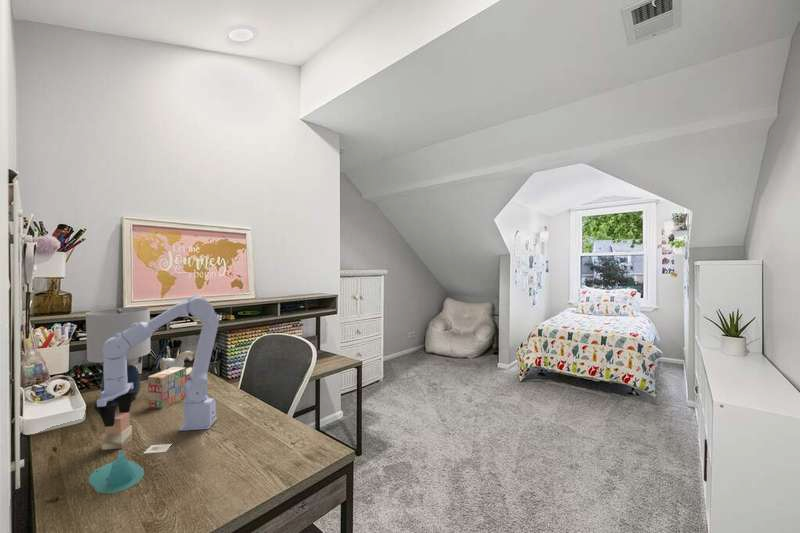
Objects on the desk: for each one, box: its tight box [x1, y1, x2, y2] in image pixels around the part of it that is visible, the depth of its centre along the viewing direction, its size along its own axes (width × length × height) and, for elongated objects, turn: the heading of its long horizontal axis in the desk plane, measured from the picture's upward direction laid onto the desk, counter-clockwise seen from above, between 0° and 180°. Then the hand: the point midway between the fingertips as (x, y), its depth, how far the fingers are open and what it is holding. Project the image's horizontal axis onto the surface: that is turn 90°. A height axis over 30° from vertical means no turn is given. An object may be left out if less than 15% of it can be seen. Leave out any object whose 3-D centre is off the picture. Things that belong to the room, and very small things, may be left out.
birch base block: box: [101, 425, 133, 450], centre depth 114 cm, size 6×6×4 cm
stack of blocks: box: [147, 366, 192, 409], centre depth 152 cm, size 21×6×12 cm, turn 169°
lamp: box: [85, 306, 152, 403], centre depth 149 cm, size 20×20×37 cm
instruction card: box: [142, 443, 173, 455], centre depth 111 cm, size 6×4×1 cm
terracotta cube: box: [104, 411, 131, 434], centre depth 114 cm, size 4×4×4 cm
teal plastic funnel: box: [88, 450, 145, 494], centre depth 98 cm, size 12×20×9 cm, turn 51°
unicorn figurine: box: [159, 349, 197, 372], centre depth 175 cm, size 7×20×13 cm, turn 91°
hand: (117, 420), depth 114 cm, fingers open, 7 cm apart
